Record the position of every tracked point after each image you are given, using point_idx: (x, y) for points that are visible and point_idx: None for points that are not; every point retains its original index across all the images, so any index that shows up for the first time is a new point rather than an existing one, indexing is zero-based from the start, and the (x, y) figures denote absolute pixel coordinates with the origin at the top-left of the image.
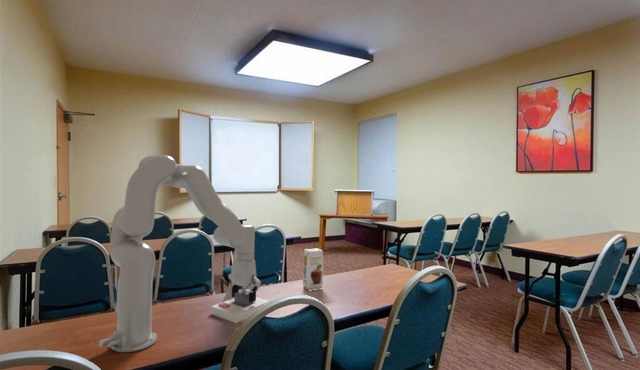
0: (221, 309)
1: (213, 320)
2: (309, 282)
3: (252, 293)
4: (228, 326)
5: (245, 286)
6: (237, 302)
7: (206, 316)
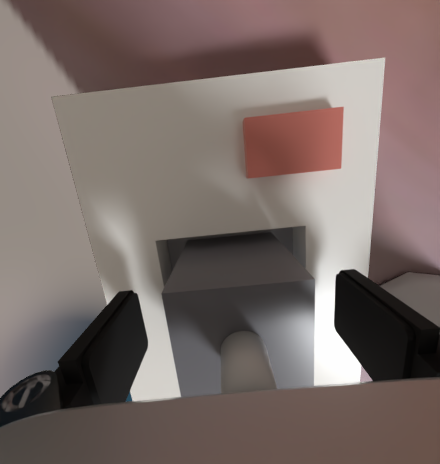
0: (247, 79)
1: (238, 27)
2: None
3: (60, 373)
4: (79, 44)
5: (7, 428)
6: (247, 250)
7: (335, 33)
